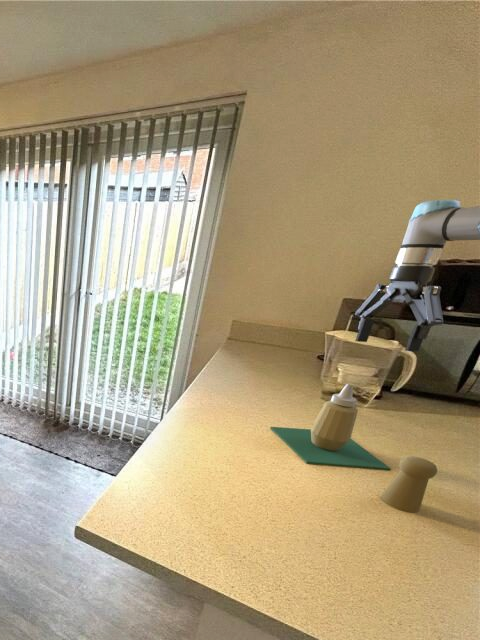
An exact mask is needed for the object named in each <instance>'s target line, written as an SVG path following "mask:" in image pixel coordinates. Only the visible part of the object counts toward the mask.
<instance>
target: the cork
mask: <svg viewBox="0 0 480 640" xmlns="http://www.w3.org/2000/svg"><path fill="white" fill-rule="evenodd" d="M398 467H399V471H398V472H397V473H396V475H395V476H394V477H393V479H392V480H391V481H390V482H389V483H388V485H387V486H386V488H385V489H384V490H383V492H382V493H381V494H379V495H380V496H379V497H380V499H381V501H382V502H383V503H385V504H387V505H388V506H390V507H392V508H394V509H397V510H399V511H402V512H408V513H418V512H420V510H421V506H422V503H423V500H424V496H425V494H426V489H427V486H428V483H429V480H430V479H433V478H434V477H435V476H436V475H437V473H438V467H437V465H436V464H435V463H434V462H432V461H430V460H428V459H426V458H423V457H420V456H411V455H409V456H405V457H403V458H402V459H401V460H400V461H399V466H398Z"/></svg>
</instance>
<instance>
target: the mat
mask: <svg viewBox="0 0 480 640" xmlns="http://www.w3.org/2000/svg"><path fill="white" fill-rule="evenodd" d="M270 430H271V431H273V433H274V434H275V435H277V437H278V438H280V439H281V440H282V441H283V442H284V443H285V444H286V445H287V447H289V448H290V449H291V450H292V451H293V452H294V453H295V454H296V455H297V456H298V457H299V458H300V459H301V460H302V461H303V462H304V463H305V464H307V465H319V466H330V467H331V466H332V467H344V468H356V469H367V470H368V469H369V470H380V471H381V470H382V471H391V467H390V466H388V465H387V464H386V463H385V462H383V461H381V460H380V459H379V458H378V457H377V456H375V455H373V453H372V452H370V451H368V450H367V449H365V448H364V447H363V446H362V445H361V444H359V443H358V442H356V441H355V440H354V439H352V437H351V438H350V441H349V442H348V443H346V444H345V445H344V446H343V447H342V448H341V449H340V450H337V451H332V450H326V449H323V448H320V447H318V446H316V445H314V444H313V443H312V440H311V428H310V429H309V428H296V427H283V426H282V427H281V426H270Z"/></svg>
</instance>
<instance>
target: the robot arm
mask: <svg viewBox="0 0 480 640" xmlns="http://www.w3.org/2000/svg"><path fill="white" fill-rule="evenodd" d="M455 241H480V205H477V206H469V207H461V202H460V201H459V200H455V199H440V200H439V199H438V200H427V201H424V202H423V201H422V202H421V203H419V204H417V205H416V206H415V207H414V210H413V213H412V215H411V217H410V219H409V220H408V225H407V228H406V231H405V234H404V236H403V239H402V243H401V245H400V248H399V250H398V252H397V256H396V258H395V260H394V264H395V265H396V266H394V267H393V268H392V269H391V273H390V274H389V278H388V279H389V281H390V283H389V284H388V283H377V284H376V286H375V287H374V289H373V292H372V293H371V294H370V295H369V296H368V297H367V299H366V300H365V301H364V302H363V303H362V305H361V306H359V308H358V309H357V310H356V311H355V313H354V315H355V316H358V317H359V318H360V321H359V324H358V327H357V329H358V332H357V335H356V337H355V342H357V343H358V342H359V343H367V342H368V340H369V337H370V334H371V331H372V329H373V326H374V323H375V318H374V317H376V316H377V315H378V314H379V313H381V312H383V310H384V309H386V308H388V307H389V306H390V305H392V304H394V303H406V304H407V305H409V307H410V309H411V311H412V313H413V315H414V317H415V320H416V321H417V324H416V325H414V326H413V328H412V331H411V333H410V336H409V339H408V341H407V343H406V346H405V349H404V351H406V352H419V350H420V348H421V346H422V343H423V341H424V340H426V339H427V338H428V335H429V333H430V331H431V328H432V327H433V326H442V325H443V324H444V317H443V311H442V305H441V298H440V294H441V291H442V287H441V286H440V285H428V283H429V282H431V281H432V278H433V276H434V274H435V271H436V268H435V267H433V266H436V265H438V262H439V260H440V257H441V254H442V252H443V250H444V247H445V245H446V242H455Z"/></svg>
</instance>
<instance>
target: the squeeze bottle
mask: <svg viewBox="0 0 480 640" xmlns="http://www.w3.org/2000/svg"><path fill="white" fill-rule="evenodd" d="M353 391H354V384H353V383H350V382H349V383H348V382H347V383H346V384H345V385H344V387H343V388H342V390H341V391H340V392H339V393H334V394H332V395H331V399H330V400H328V401H325V402H324V404H323V405H322V407H321V409H320V411H319V413H318V414H317V416H316V418H315V420H314V422H313V424H312V425H311V428H310V429H311V440H312V443H313V444H314V445H316V446H318V447H320V448H323V449H326V450H332V451H337V450H340V449H341V448H342V447H343V446H344V445H345V444H346V443H348V442H349V441H350V438H351V439H352V434H353V431H354V428H355V427H354V426H355V424H356V419H357V415H358V411H359V409H358V408H357V406H356V404H357V401H358V399H357V398H356V397H354V396H353Z"/></svg>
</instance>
